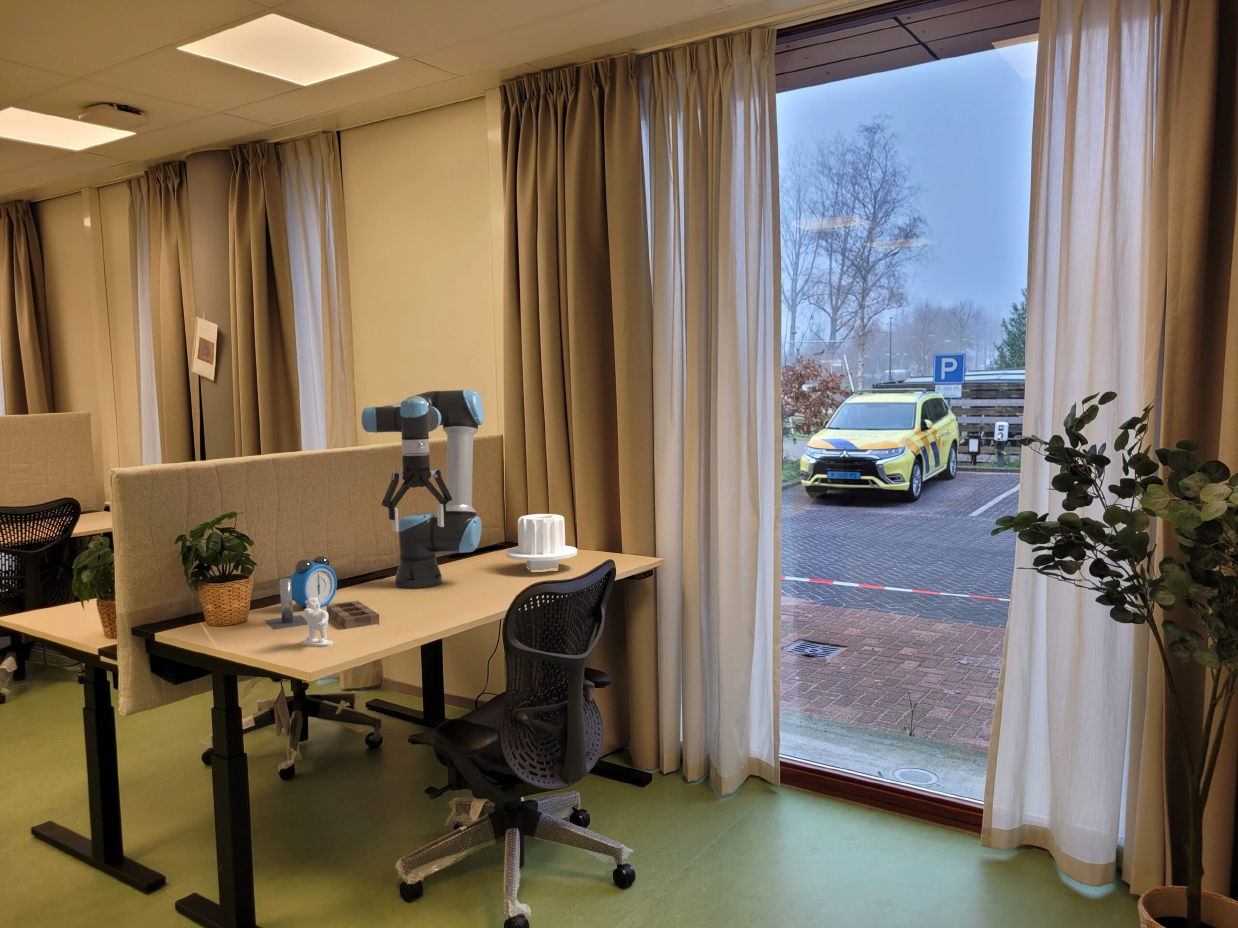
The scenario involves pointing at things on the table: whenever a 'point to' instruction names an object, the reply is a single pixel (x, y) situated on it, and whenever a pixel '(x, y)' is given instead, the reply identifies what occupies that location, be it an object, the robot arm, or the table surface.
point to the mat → (278, 623)
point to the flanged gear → (541, 541)
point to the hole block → (352, 614)
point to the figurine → (316, 624)
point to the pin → (286, 600)
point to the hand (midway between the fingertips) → (418, 528)
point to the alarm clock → (313, 581)
